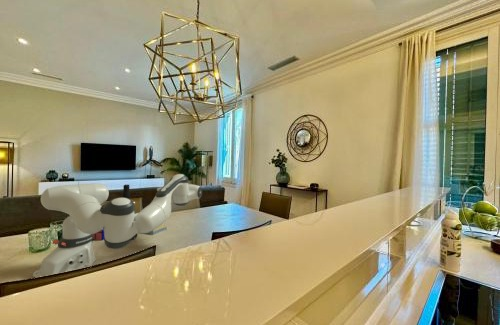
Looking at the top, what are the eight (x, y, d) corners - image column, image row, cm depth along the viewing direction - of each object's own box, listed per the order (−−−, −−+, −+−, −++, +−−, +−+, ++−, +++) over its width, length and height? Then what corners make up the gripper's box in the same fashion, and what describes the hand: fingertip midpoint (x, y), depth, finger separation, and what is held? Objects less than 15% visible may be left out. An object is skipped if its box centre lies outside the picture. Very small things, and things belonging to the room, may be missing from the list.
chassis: (152, 235, 144) (152, 228, 144) (137, 231, 150) (137, 225, 149) (167, 228, 157) (167, 222, 157) (153, 225, 163) (153, 219, 162)
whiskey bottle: (136, 229, 155) (137, 184, 154) (122, 232, 147) (122, 186, 146) (129, 225, 161) (129, 183, 160) (115, 229, 153) (115, 184, 151)
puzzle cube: (101, 240, 133) (102, 224, 133) (88, 238, 135) (88, 223, 135) (115, 234, 143) (115, 220, 143) (102, 233, 145) (102, 218, 145)
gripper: (167, 197, 129) (150, 195, 134) (189, 192, 148) (173, 190, 153) (168, 187, 129) (150, 185, 134) (189, 183, 147) (174, 181, 153)
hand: (163, 188), depth 144 cm, fingers open, 8 cm apart
